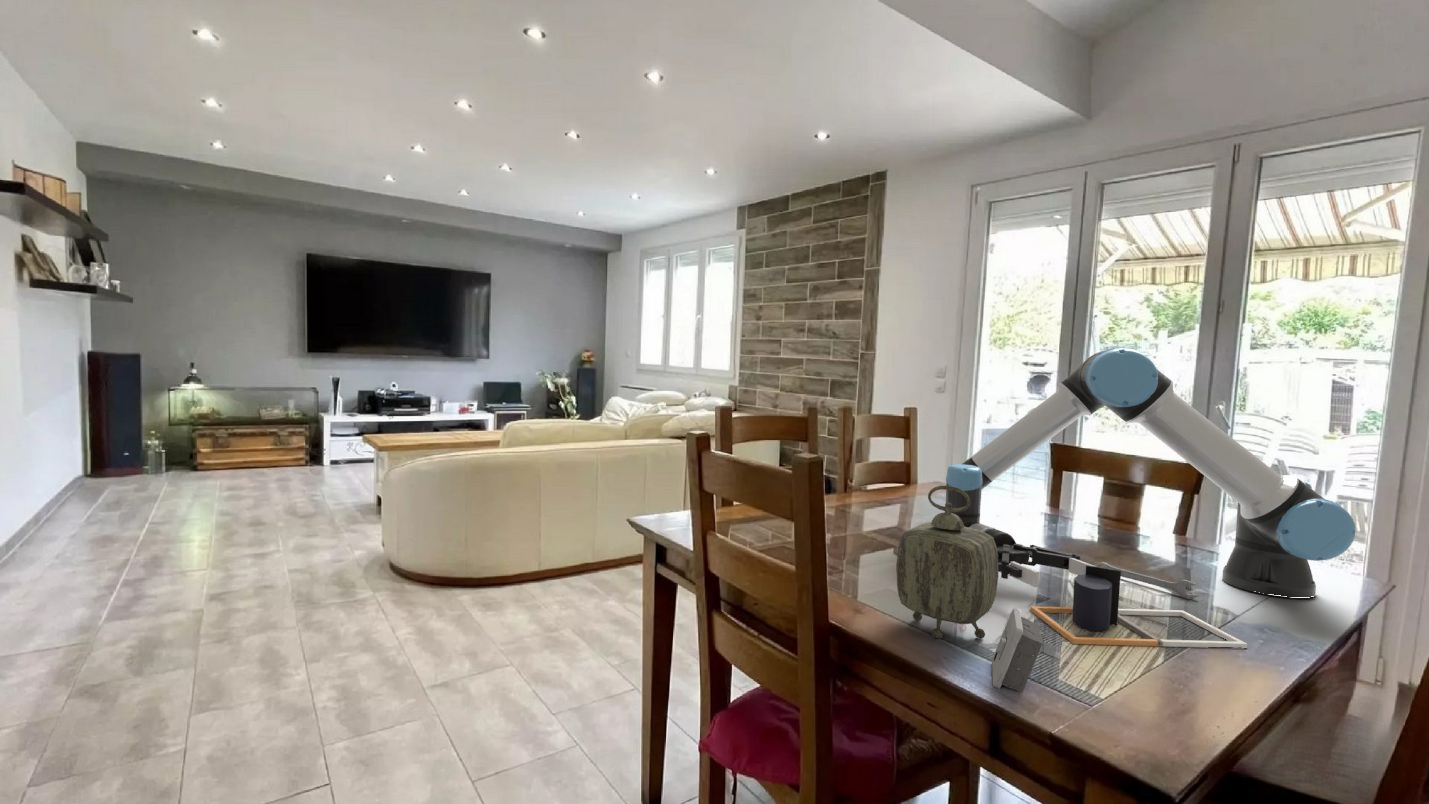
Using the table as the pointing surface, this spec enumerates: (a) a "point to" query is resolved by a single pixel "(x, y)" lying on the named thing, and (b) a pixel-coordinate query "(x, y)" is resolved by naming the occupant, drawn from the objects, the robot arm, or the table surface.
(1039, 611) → the rectangular frame
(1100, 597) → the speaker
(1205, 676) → the table surface
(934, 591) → the tabletop clock
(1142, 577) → the combination wrench
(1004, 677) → the electrical switch
